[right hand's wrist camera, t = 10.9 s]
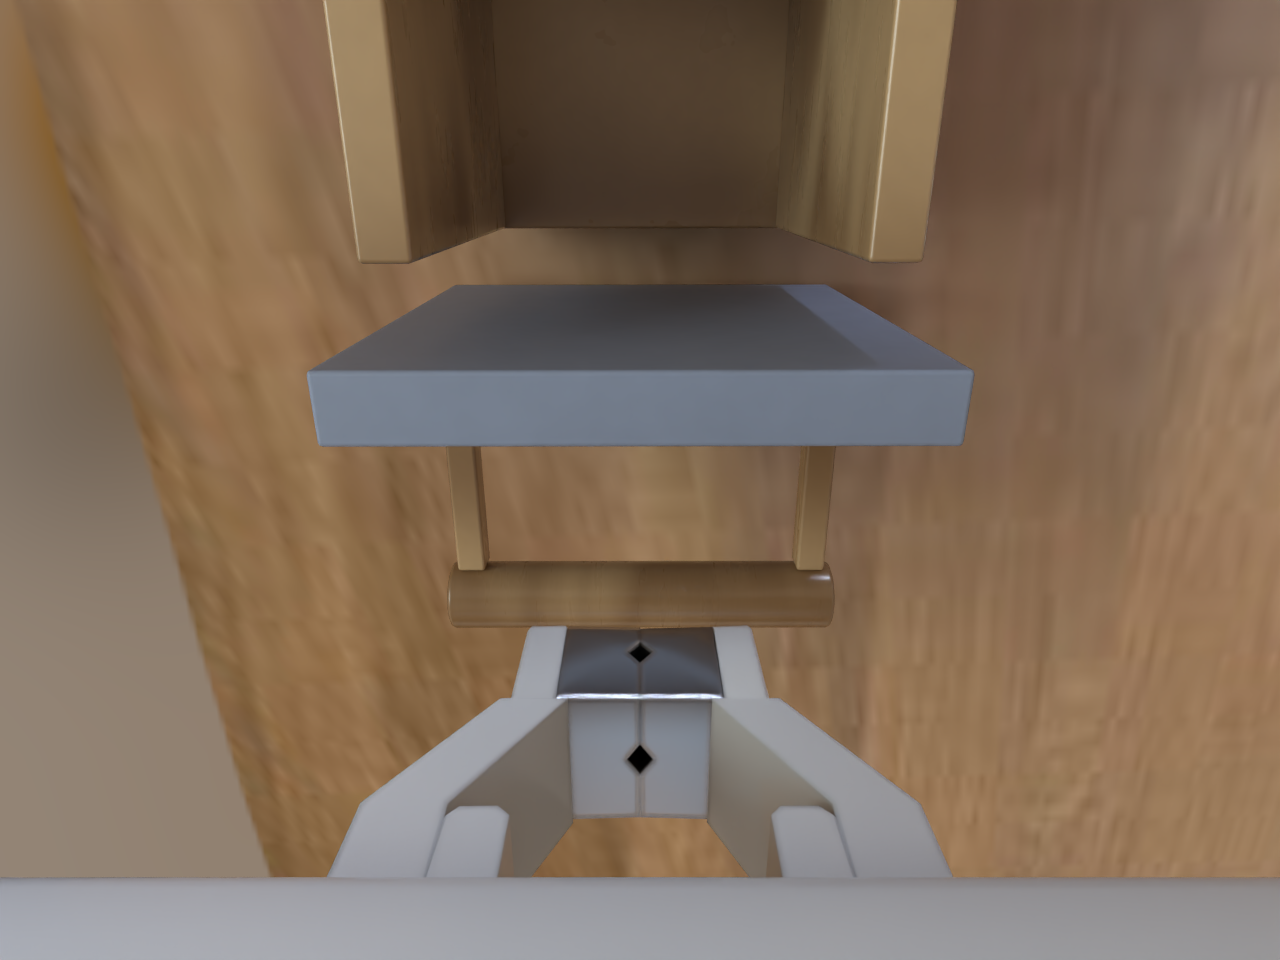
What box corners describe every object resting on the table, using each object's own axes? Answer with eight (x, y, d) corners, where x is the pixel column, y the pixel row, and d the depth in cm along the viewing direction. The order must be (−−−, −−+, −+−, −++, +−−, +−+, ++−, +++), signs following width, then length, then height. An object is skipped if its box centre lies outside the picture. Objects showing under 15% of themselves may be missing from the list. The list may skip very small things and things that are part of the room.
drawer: (807, 517, 22) (916, 739, 14) (474, 517, 23) (365, 740, 14) (892, -450, 15) (1271, -1394, 6) (387, -449, 15) (7, -1386, 6)
